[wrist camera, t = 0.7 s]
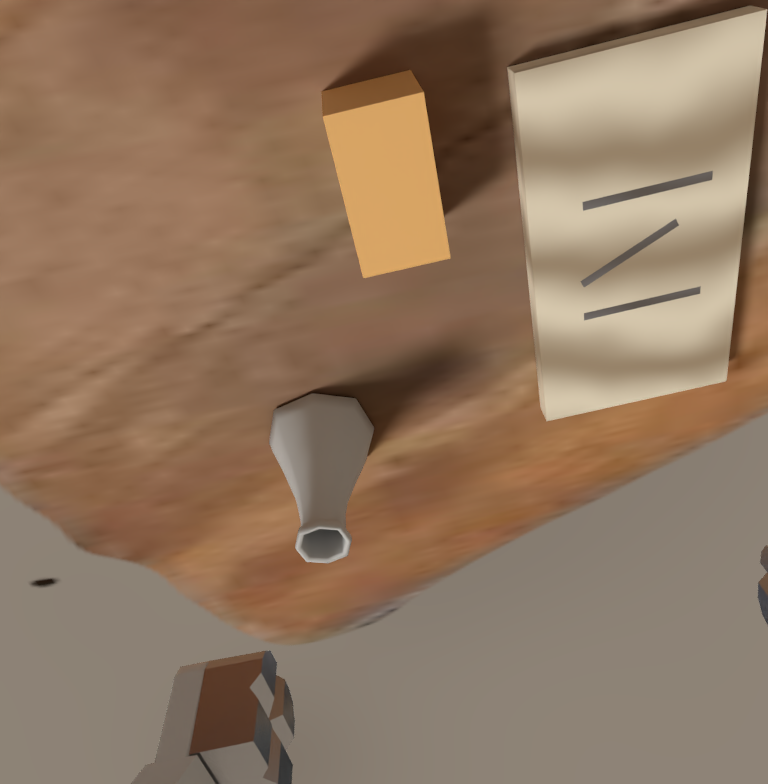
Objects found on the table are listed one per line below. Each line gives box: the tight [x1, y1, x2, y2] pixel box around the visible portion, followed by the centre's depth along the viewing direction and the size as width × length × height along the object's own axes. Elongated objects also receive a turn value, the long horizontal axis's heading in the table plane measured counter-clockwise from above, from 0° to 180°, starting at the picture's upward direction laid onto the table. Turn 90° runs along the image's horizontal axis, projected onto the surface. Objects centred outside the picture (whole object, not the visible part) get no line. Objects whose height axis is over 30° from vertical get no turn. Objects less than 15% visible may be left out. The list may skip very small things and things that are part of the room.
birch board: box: [507, 5, 767, 421], centre depth 39 cm, size 22×12×2 cm, turn 12°
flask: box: [269, 393, 374, 563], centre depth 42 cm, size 7×7×10 cm
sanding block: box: [322, 70, 450, 278], centre depth 34 cm, size 8×4×5 cm, turn 12°
